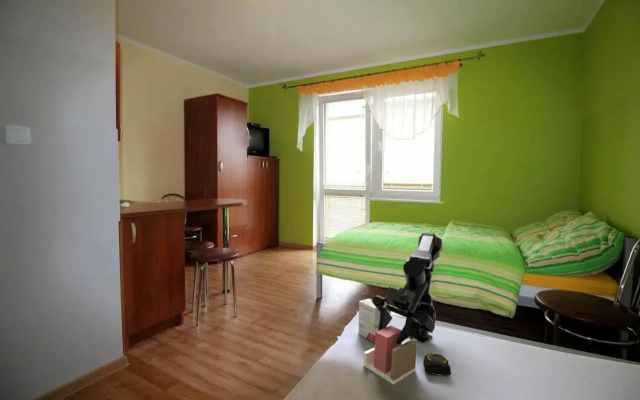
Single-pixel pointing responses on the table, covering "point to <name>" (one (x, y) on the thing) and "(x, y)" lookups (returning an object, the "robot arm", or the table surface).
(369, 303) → the ink box
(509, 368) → the table surface
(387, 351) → the book
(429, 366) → the tape measure
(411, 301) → the robot arm
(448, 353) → the table surface
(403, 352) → the book rack
